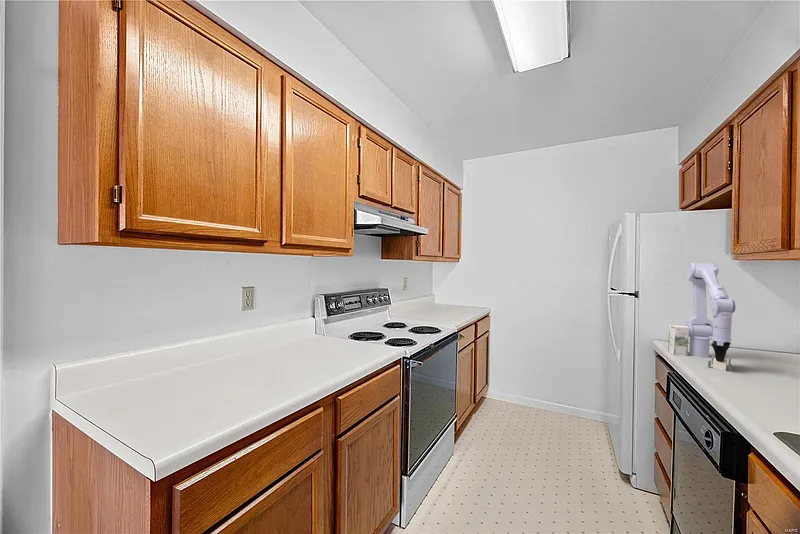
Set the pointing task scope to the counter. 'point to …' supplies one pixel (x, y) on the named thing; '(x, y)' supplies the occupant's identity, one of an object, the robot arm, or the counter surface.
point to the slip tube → (720, 365)
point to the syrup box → (678, 340)
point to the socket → (710, 365)
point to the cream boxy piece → (713, 359)
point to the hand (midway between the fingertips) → (720, 360)
